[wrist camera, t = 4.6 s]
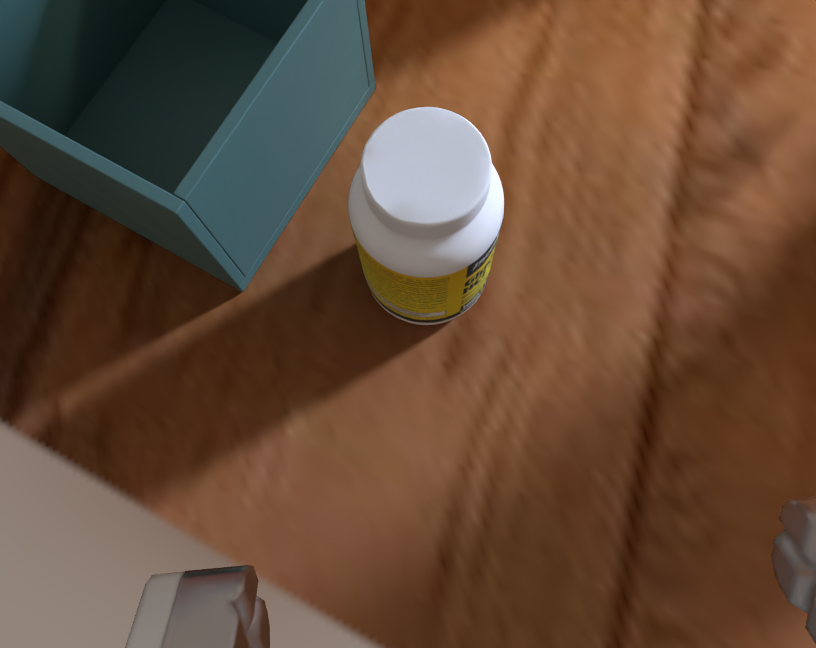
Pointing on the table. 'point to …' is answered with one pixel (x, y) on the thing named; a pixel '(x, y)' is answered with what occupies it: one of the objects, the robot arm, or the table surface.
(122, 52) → the trash bin
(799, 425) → the table surface
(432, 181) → the pill bottle
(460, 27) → the table surface
